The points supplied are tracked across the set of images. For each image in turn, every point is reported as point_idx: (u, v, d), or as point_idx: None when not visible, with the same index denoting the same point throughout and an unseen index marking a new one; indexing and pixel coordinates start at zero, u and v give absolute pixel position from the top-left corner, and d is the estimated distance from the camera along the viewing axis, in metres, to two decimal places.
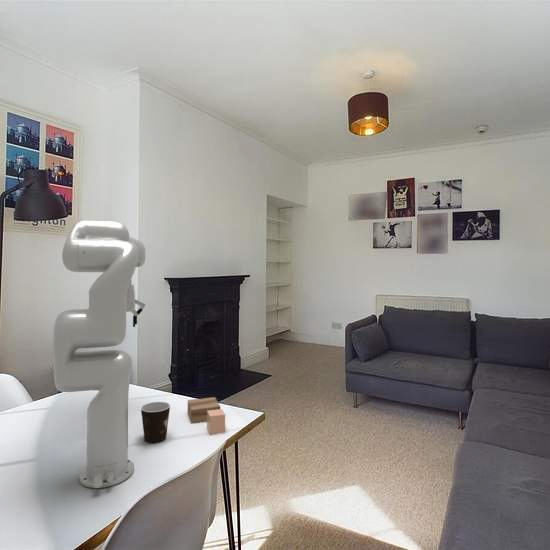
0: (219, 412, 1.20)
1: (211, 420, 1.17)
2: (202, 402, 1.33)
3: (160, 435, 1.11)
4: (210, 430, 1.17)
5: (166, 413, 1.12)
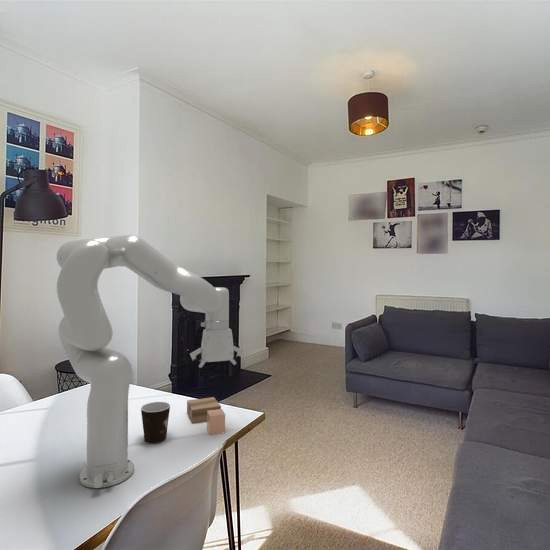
0: (219, 412, 1.20)
1: (211, 420, 1.17)
2: (202, 402, 1.33)
3: (160, 435, 1.11)
4: (210, 430, 1.17)
5: (166, 413, 1.12)
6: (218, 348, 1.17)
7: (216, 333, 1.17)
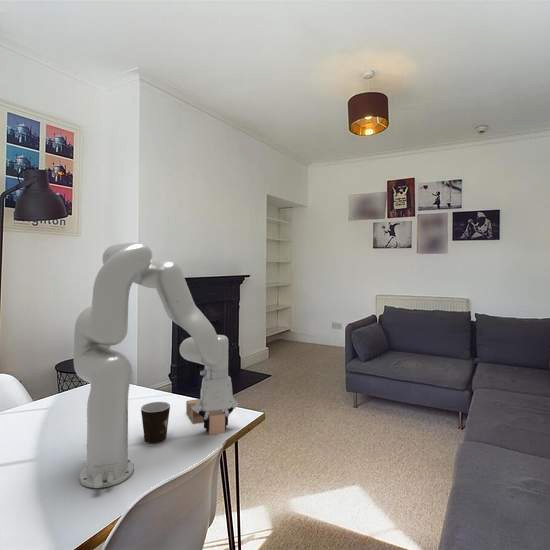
0: (219, 412, 1.20)
1: (211, 420, 1.17)
2: None
3: (160, 435, 1.11)
4: (210, 430, 1.17)
5: (166, 413, 1.12)
6: (217, 397, 1.17)
7: (215, 382, 1.17)
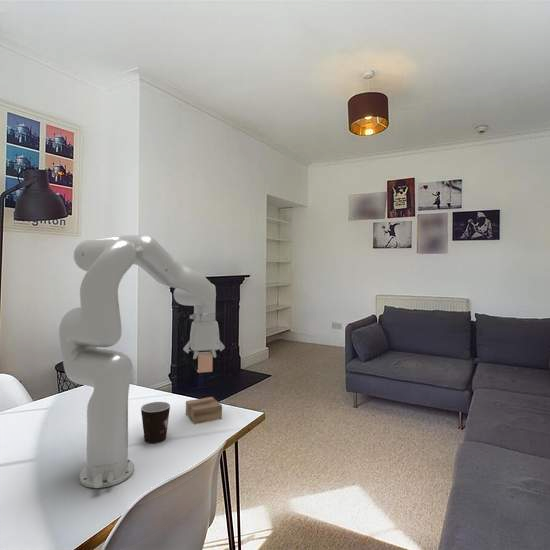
0: (207, 353, 1.31)
1: (199, 359, 1.29)
2: (202, 402, 1.33)
3: (160, 435, 1.11)
4: (199, 368, 1.29)
5: (166, 413, 1.12)
6: (205, 338, 1.29)
7: (203, 325, 1.29)
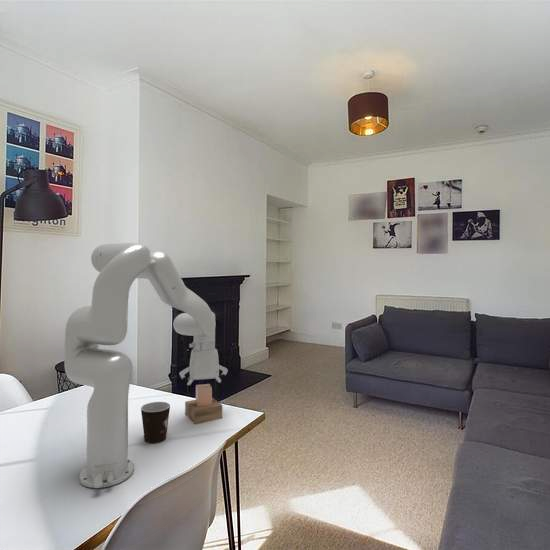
0: (207, 386, 1.32)
1: (199, 393, 1.29)
2: None
3: (160, 435, 1.11)
4: (198, 402, 1.29)
5: (166, 413, 1.12)
6: (204, 367, 1.29)
7: (203, 354, 1.29)
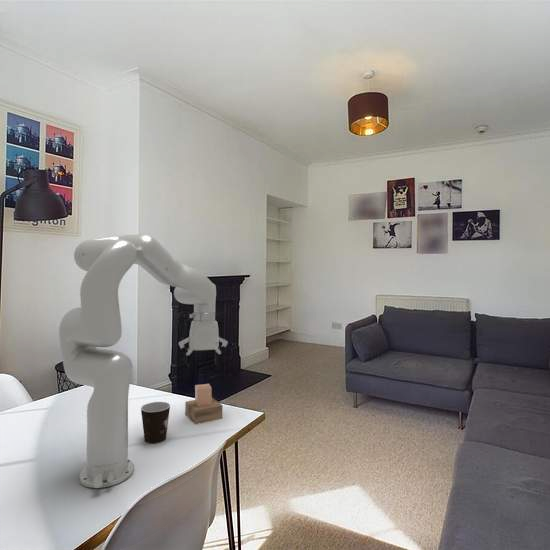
0: (206, 386, 1.32)
1: (199, 393, 1.29)
2: None
3: (160, 435, 1.11)
4: (198, 402, 1.29)
5: (166, 413, 1.12)
6: (204, 338, 1.28)
7: (203, 324, 1.28)
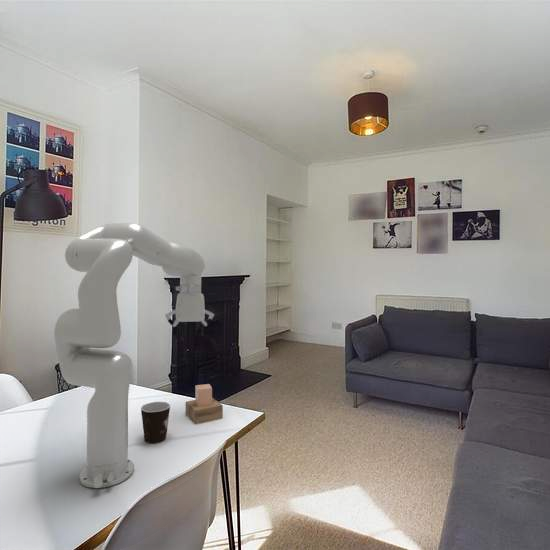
0: (207, 386, 1.32)
1: (199, 393, 1.29)
2: None
3: (160, 435, 1.11)
4: (198, 402, 1.29)
5: (166, 413, 1.12)
6: (190, 309, 1.31)
7: (189, 296, 1.31)
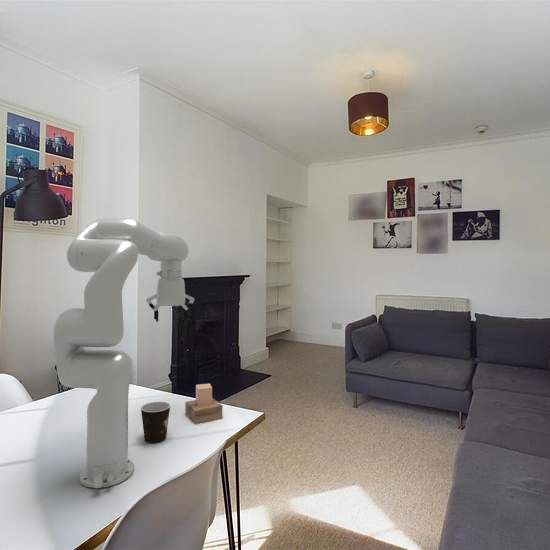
0: (207, 386, 1.32)
1: (199, 393, 1.29)
2: None
3: (160, 435, 1.11)
4: (198, 402, 1.29)
5: (166, 413, 1.12)
6: (170, 294, 1.34)
7: (169, 281, 1.34)
